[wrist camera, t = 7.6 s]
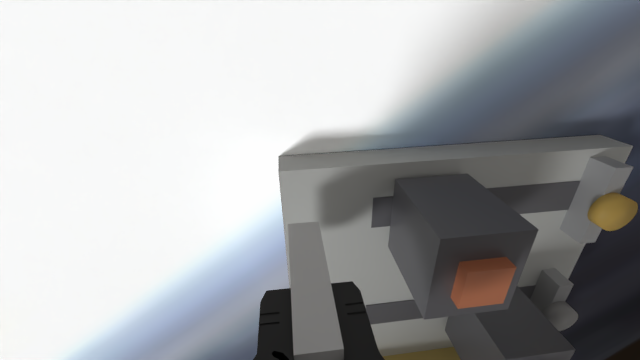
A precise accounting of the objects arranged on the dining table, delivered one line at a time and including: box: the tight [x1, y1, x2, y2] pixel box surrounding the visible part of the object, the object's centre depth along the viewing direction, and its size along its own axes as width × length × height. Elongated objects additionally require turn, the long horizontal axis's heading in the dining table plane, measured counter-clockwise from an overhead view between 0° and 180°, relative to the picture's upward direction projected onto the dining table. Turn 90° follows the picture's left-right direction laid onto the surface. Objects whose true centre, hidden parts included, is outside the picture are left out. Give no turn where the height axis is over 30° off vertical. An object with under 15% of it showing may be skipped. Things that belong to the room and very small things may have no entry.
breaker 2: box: [445, 286, 575, 360], centre depth 19 cm, size 4×4×6 cm
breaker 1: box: [388, 174, 539, 320], centre depth 14 cm, size 4×4×6 cm
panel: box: [279, 135, 638, 360], centre depth 23 cm, size 20×32×4 cm, turn 1°
